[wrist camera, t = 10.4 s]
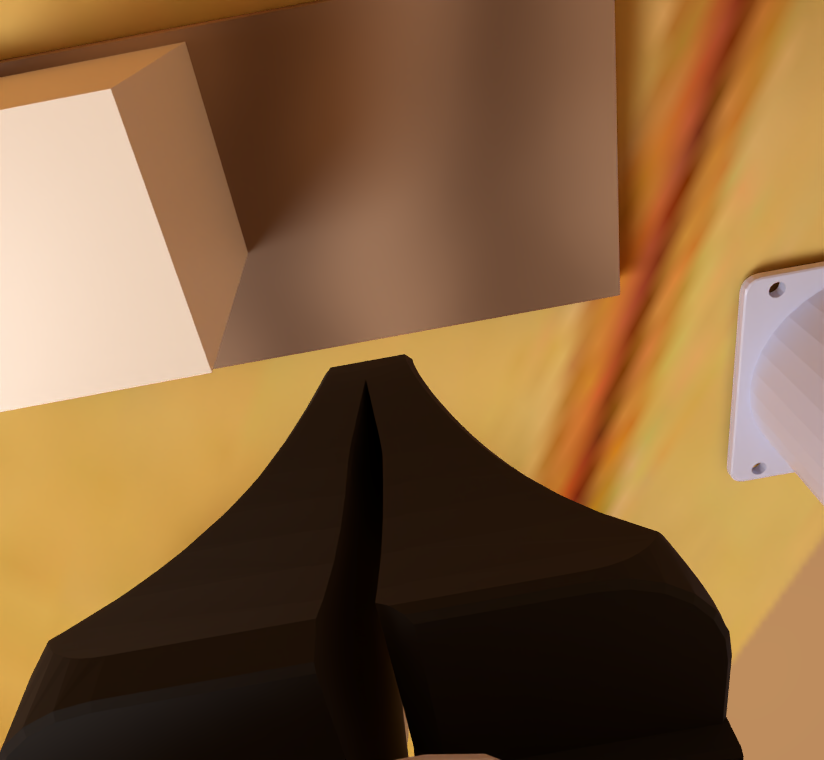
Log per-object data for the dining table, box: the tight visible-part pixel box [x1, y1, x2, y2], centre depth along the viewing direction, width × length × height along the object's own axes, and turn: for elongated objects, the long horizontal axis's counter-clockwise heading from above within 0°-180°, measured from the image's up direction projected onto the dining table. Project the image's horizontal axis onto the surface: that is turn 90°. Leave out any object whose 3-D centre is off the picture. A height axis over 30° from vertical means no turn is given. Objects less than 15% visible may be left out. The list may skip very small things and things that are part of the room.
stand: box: [0, 0, 620, 369], centre depth 20 cm, size 18×9×1 cm, turn 99°
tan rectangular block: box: [0, 42, 248, 412], centre depth 16 cm, size 5×5×7 cm
